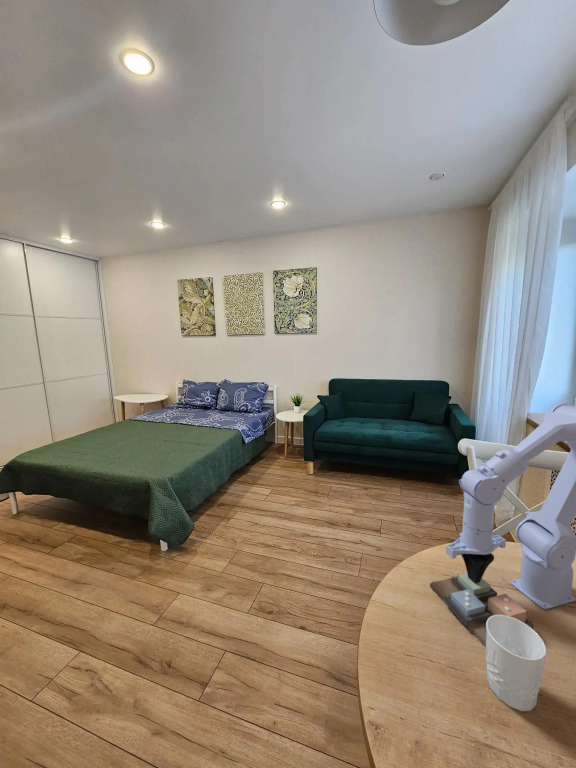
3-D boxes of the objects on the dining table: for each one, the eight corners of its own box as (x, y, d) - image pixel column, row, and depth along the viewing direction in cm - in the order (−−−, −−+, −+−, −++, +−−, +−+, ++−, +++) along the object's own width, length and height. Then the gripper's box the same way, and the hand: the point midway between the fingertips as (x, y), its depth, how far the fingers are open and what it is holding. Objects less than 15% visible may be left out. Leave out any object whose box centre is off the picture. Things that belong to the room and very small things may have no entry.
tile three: (467, 599, 68) (467, 588, 67) (484, 616, 63) (485, 605, 63) (450, 603, 67) (450, 592, 66) (466, 621, 62) (467, 609, 62)
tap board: (468, 577, 75) (469, 568, 75) (539, 641, 59) (540, 630, 59) (426, 587, 73) (427, 578, 72) (489, 657, 56) (490, 645, 56)
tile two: (504, 604, 65) (505, 592, 65) (525, 622, 61) (526, 610, 60) (487, 608, 64) (488, 597, 64) (507, 627, 60) (508, 615, 59)
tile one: (473, 580, 73) (474, 570, 73) (489, 595, 69) (490, 584, 68) (457, 584, 72) (458, 574, 72) (473, 599, 68) (474, 588, 67)
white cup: (552, 722, 46) (558, 664, 45) (494, 710, 48) (499, 654, 47) (523, 668, 54) (528, 618, 53) (475, 660, 56) (478, 611, 55)
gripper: (488, 510, 74) (484, 562, 75) (437, 519, 70) (434, 573, 72) (516, 527, 67) (511, 583, 69) (461, 537, 64) (457, 596, 65)
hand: (473, 579), depth 70 cm, fingers closed, pressing on tile one
